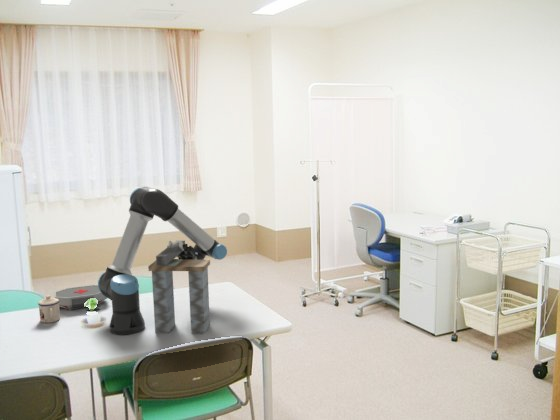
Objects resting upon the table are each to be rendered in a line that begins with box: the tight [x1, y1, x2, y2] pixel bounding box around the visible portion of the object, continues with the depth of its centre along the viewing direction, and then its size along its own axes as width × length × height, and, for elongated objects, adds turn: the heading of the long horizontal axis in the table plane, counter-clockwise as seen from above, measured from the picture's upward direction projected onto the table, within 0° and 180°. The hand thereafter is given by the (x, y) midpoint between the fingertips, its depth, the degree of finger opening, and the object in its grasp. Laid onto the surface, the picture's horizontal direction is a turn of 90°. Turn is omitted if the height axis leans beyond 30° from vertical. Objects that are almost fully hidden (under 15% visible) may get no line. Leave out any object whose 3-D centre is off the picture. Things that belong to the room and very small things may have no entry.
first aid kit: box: [54, 284, 108, 310], centre depth 273 cm, size 18×8×25 cm
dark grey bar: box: [155, 240, 186, 266], centre depth 236 cm, size 4×30×4 cm, turn 175°
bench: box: [148, 258, 211, 334], centre depth 237 cm, size 24×12×30 cm, turn 85°
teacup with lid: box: [37, 294, 61, 324], centre depth 251 cm, size 12×9×12 cm
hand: (174, 243), depth 241 cm, fingers closed on dark grey bar, 4 cm apart
